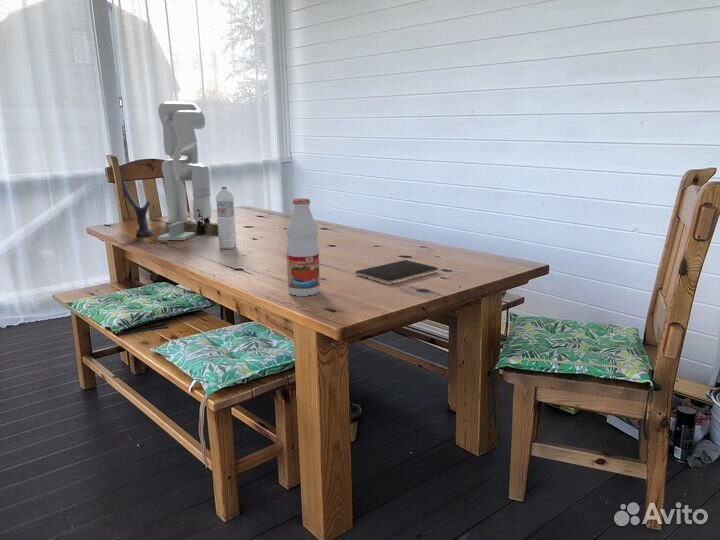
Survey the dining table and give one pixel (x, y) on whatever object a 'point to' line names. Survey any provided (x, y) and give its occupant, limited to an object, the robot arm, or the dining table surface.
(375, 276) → the hardcover book
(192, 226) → the walnut bar
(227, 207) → the water bottle
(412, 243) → the dining table surface
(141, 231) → the antler
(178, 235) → the block
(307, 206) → the fruit juice
